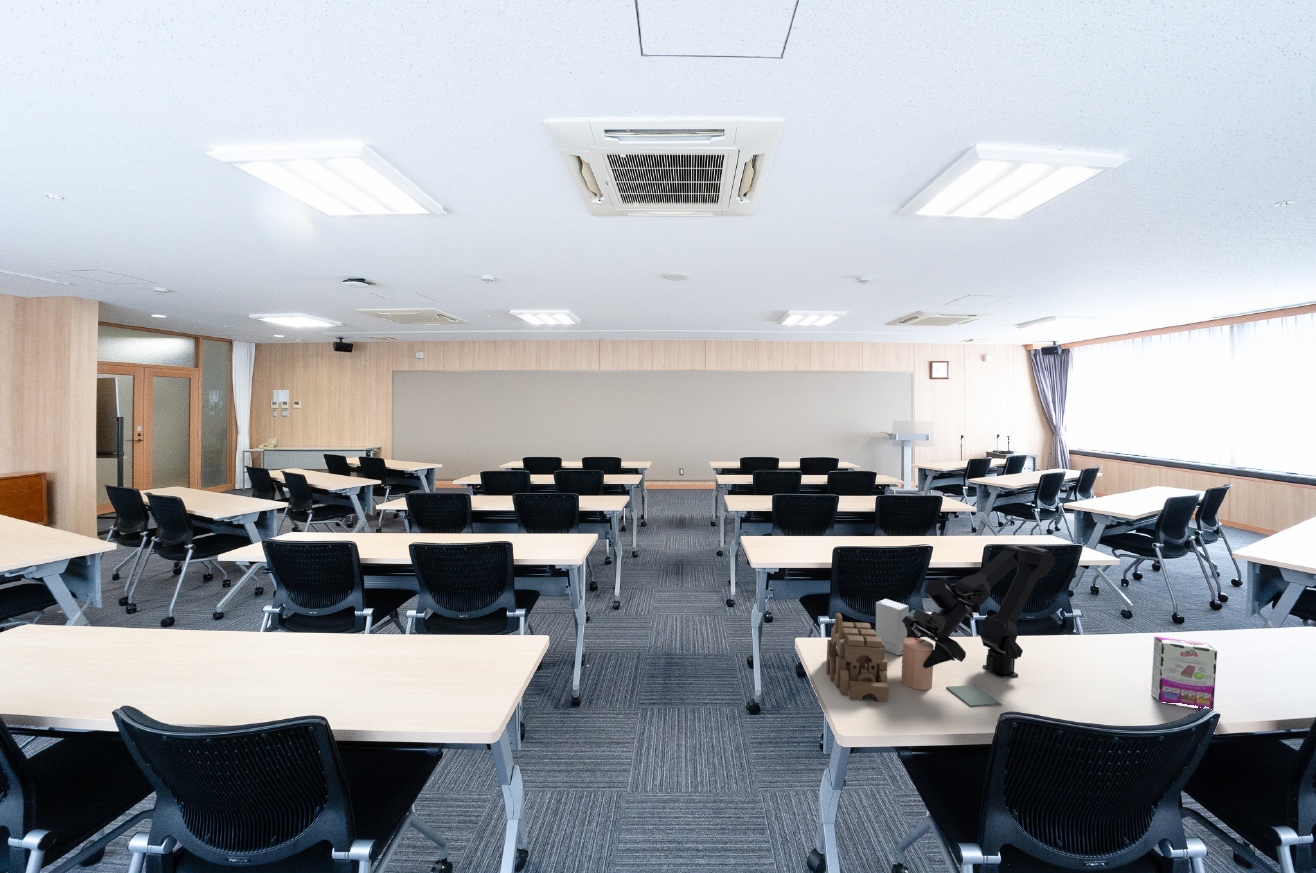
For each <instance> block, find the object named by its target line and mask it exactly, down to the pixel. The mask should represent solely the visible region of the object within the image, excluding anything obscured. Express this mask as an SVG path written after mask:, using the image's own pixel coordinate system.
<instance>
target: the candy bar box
mask: <svg viewBox="0 0 1316 873" xmlns="http://www.w3.org/2000/svg"><path fill="white" fill-rule="evenodd" d="M1153 638H1154V639H1153V652H1152V653H1153V655H1152V671H1151V672H1152V674H1151V688H1150V689H1151V690H1150V694H1151V693H1152V694H1153V695H1154V696H1155V698H1154V699H1155V700H1156V699H1157V700H1158V701H1159V702H1158V701H1157V700H1156V701H1157V702H1158V703H1160V702H1166V703H1182V704H1187V705H1194V706H1195V705H1196V706H1198V709H1197V710H1199V709H1203V708H1204V707H1205V706H1206V707H1209V709H1212V710H1213V711H1214V707H1215V706H1214V705H1215V689H1216V674H1217V659H1218V650H1217V649H1215V648H1214V647H1213V646H1211V645H1210V644H1208V643H1205V642H1197V641H1191V640H1185V639H1183V640H1182V639H1177V638H1176V639H1175V638H1169V637H1161V636H1154V637H1153ZM1152 694H1151V695H1152ZM1200 707H1201V708H1200Z"/></svg>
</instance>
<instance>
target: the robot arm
mask: <svg viewBox="0 0 1316 873" xmlns="http://www.w3.org/2000/svg"><path fill="white" fill-rule="evenodd" d="M1055 563H1056V559H1055V556H1054V553H1053V552H1051V551H1050V550H1048V549H1044V548H1042V547H1041V548H1040V547H1036V546H1033V545H1030V544H1028V545H1023V546H1022V547H1021V546H1017V545H1006V546H1004V547H1003V548H1002V551H1001V552H1000V553H999V554H997V555H996V556H995V557H994V558H993V559H992V560H991V561H989V562H988V563H987V564H985V566H984V567H983V568H981V569H980V570H979V571H978V572H976V573H974V574H971V575H967V576H965V577H962V578H961V579H960V580H958V581H956V582H955V583H950V581H949V580H948V578H945V577H943V576H941V577H939V579H934V580H931V581H930V582H927V583H926V585H925V587H924V592H925V593H926V595H927V596H928V597H929V598H930V600H931V601H933V603H934V605H936V606H937V608H940V609H939V610H938V612H937V611H935V610H933V611H932V612H931V613H928V612H926V611H924V610H922V609H919V608H917V607H916V609H915V611H914V614H913V616H911V615H909V616H905V618H904V619H903V620H902V622H903V623H904V624H905V628H906V629H907V637H906V638H909V637H914V638H920V639H922V638H924V637H926V638H928V639H929V640H931V641H933V642H934V651H933V652H932V653H931V654H930V656H929V657H928V658H927V660H926V661H925V662H924V664H923V667H924V668H929V667H931V666H933V667H934V666H936V665H939V664H942V663H946V662H949V661H953V662H954V661H959V662H961V663H962V662H963V661H964V660H965V659H966V658H967V652H966V650H964V648H963V647H962V646H961V645H960V643H959V642H958V641H956V640H955V639H952V638H951V637H950V636H951V635H952V634H953V633H954V634H957V633H958V632H959V630H958V629H957V627H958V626H959V625H960V624H961V623H962V622H963V620H964V619H965V618H966V617H968V618H970V619H974V612H973V608H972V607H970V606H968V605H966V604H965V603H967V604H969V605H971V606H973V607H981V606H983V605H984V603H985V602H987V600H988V598H989V597H990V596H991V593H992V592H991V590H992V588H993V587H994V585H996V584H997V583H998V582H999V581H1001V580H1002V579H1003V578H1004V577H1005V576H1007V574H1008V573H1009V572H1011V571H1012V570H1013V569H1015V567H1016V566H1017V573H1016V575H1015V577H1014V579H1013V581H1012V583H1011V585H1010V587H1009V589H1008V591H1007V593H1006V595H1005V597H1004V599H1003V601H1002V603H1001V605H1000V607H999V608H998V611H997V613H996V614H994V615H992V616H989V615H986V616H985V617H984V619H983V622H982V624H981V625H980V626H979V628H980V630H979V635H980V639H981V642H982V646H984V647H986V648H988V649H987V654H986V659H985V662H986V663H985V664H982V667H983V668H984V669H985V670H986V671H988V672H990V673H992V674H993V675H994V676H996V677H997V678H1016V677H1019V674H1018V673H1017V672H1015V662H1016V661H1015V660H1018V658H1021V657H1022V654H1023V651H1024V650H1023V649H1022V647H1021V646H1020V645H1019V644H1018V643H1017V642H1016V641H1017V638H1018V630H1017V622H1018V620H1019V618H1020V616H1021V614H1022V612H1023V609H1024V608H1025V606H1026V605H1027V602H1028V600H1029V598H1030V596H1031V593H1032V592H1033V590H1034V588H1035V585H1036V584H1037V582H1038V580H1040V579H1042V578H1044V577H1046V576H1047V575H1048V574H1049V573H1050V572H1051V570H1052V568H1053V567H1054V565H1055ZM902 653H903V650H902Z"/></svg>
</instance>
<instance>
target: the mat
mask: <svg viewBox="0 0 1316 873" xmlns="http://www.w3.org/2000/svg"><path fill="white" fill-rule="evenodd" d="M945 688H946V689H947V690H948V691H949V692H951V693H952V694H953V695H954V696H955V697H957V698H958V699H960V700H961V701H963V703H965V704H966V705H967V706H968V707H970V708H972V707H974V708H975V707H988V706H1001V705H1002V702H1001V701H999V700H998V699H996V698H995V697H993V696H992V695H991V694H989V693H988V692H987V691H985V690H984V689H982V688H981V687H979V686H978V685H976V684H969V685H968V684H967V685H955V686H954V685H951V686H949V685H948V686H945Z"/></svg>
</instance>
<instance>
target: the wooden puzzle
mask: <svg viewBox="0 0 1316 873" xmlns="http://www.w3.org/2000/svg"><path fill="white" fill-rule="evenodd" d="M834 616H835V617H834V625H832V627H831V631H830V639H827V643H826V644H827V645H826V646H827V647H826V664H825V665H826V675H827V676H829V681H830V683H831V682H832V683H833V684H834V686H835V687H836V689H837V690H838V691H839V693H840V695H841V696H846V697H848V698H849V699H850V701H862V699H863V697H864V696H865V695H869V694H870V696H871V697H873V698H875V699H876V701H877V702H878V703H889V695H890V694H889V693H890V692H889V691H890V686H889V685H888V683H889V682H888V680H889V679H888V661H887V660H886V659H885V650H884V648H885V645H884V644H883V642H882V640H881V638H880V637H878V636H877V635H876V629H872V627H871V624H870V622H869V623H868V622H852V621H851V622H850V621H849V622H848V621H843V617H842V614H841V613H840V612H836V613H835V615H834Z"/></svg>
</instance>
